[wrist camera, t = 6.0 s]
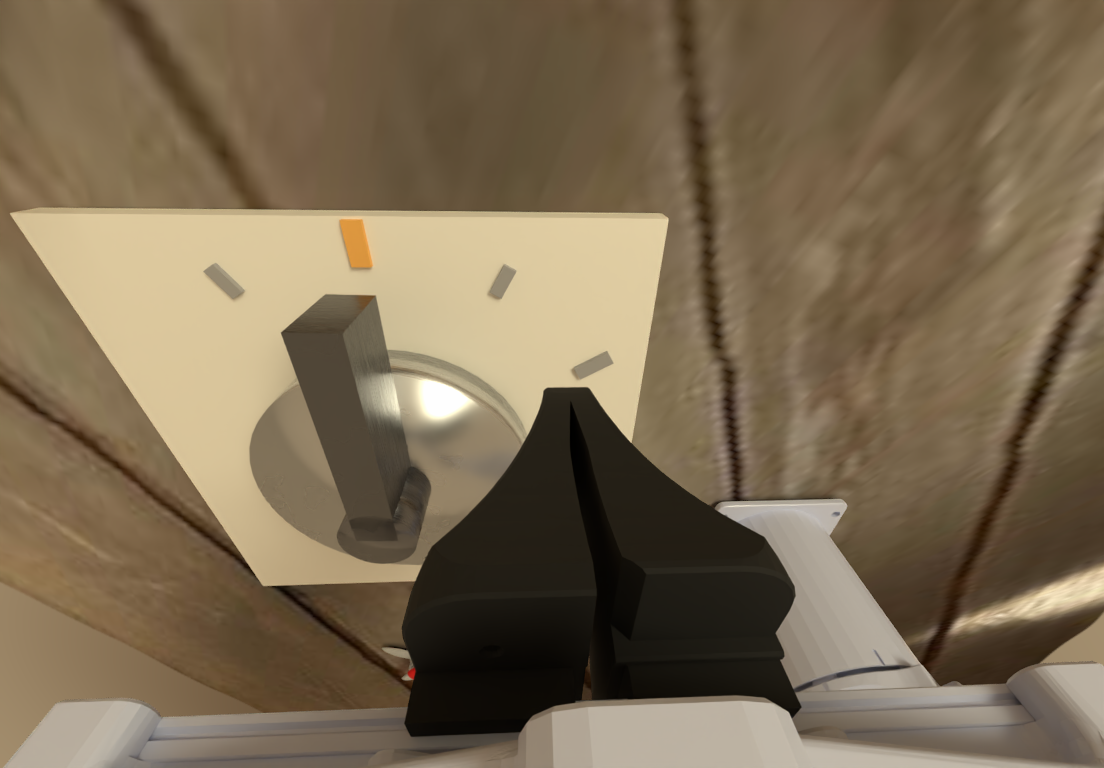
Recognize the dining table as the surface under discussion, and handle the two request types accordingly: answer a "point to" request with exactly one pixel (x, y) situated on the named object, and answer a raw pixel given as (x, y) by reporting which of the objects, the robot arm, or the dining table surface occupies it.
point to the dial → (377, 438)
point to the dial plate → (345, 269)
